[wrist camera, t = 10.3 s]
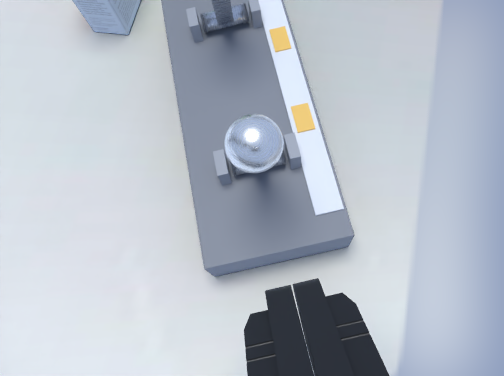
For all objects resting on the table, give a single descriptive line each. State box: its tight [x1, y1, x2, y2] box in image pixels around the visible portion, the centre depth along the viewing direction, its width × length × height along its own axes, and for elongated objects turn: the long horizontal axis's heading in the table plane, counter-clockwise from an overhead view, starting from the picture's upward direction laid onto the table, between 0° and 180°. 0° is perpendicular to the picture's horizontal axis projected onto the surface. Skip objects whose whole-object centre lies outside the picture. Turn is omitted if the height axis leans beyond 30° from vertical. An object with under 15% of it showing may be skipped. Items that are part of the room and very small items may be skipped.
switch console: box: [161, 0, 354, 276], centre depth 35 cm, size 11×28×6 cm, turn 12°
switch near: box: [224, 114, 286, 176], centre depth 25 cm, size 4×3×12 cm
